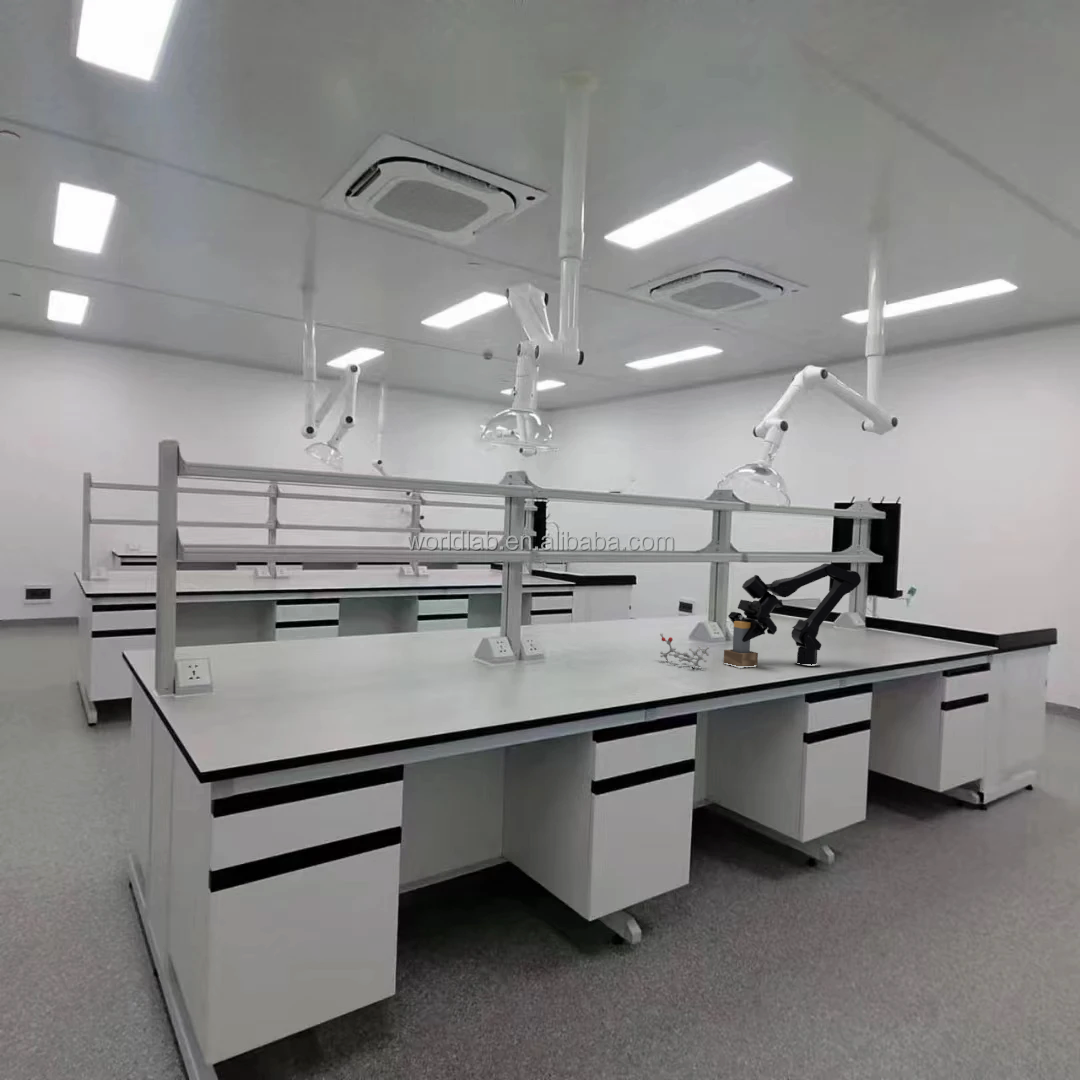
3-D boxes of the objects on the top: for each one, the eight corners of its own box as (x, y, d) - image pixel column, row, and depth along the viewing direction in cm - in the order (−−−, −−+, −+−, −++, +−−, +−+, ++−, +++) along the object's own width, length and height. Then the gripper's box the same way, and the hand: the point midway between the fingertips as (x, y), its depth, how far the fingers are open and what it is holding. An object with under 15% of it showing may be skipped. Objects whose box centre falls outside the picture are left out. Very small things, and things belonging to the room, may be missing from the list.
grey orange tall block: (741, 657, 241) (742, 620, 241) (749, 659, 237) (750, 622, 237) (732, 658, 239) (733, 621, 239) (740, 660, 236) (742, 622, 235)
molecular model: (715, 671, 229) (716, 641, 228) (692, 675, 224) (693, 645, 223) (675, 657, 246) (676, 630, 245) (654, 661, 240) (654, 633, 240)
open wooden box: (740, 662, 244) (741, 648, 244) (757, 667, 237) (757, 653, 237) (723, 664, 240) (724, 649, 240) (739, 668, 233) (740, 654, 233)
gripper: (733, 589, 248) (708, 620, 243) (772, 594, 231) (746, 628, 227) (748, 610, 252) (724, 641, 247) (788, 617, 235) (763, 650, 230)
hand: (738, 640), depth 238 cm, fingers closed on grey orange tall block, 4 cm apart
